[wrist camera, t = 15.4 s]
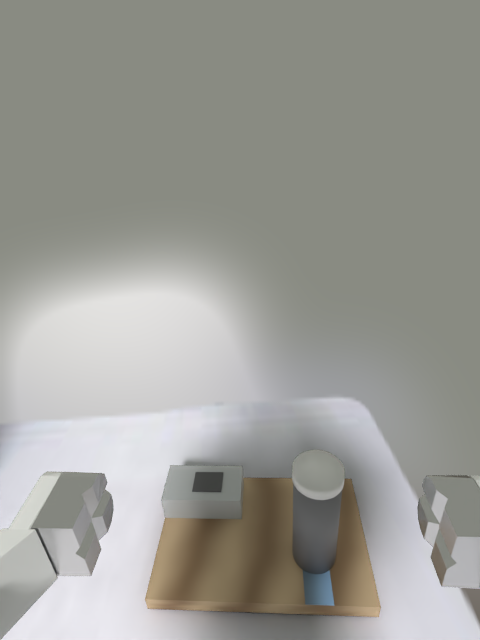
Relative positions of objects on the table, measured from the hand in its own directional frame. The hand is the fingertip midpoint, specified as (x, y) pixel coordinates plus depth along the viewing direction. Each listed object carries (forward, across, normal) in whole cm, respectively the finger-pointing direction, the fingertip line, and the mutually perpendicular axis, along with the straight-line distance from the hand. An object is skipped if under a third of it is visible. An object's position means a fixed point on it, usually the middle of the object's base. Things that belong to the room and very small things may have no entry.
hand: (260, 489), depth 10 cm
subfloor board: (+18, +1, +30) cm, 35 cm away
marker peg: (+16, -4, +28) cm, 33 cm away
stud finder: (+22, +7, +28) cm, 36 cm away
